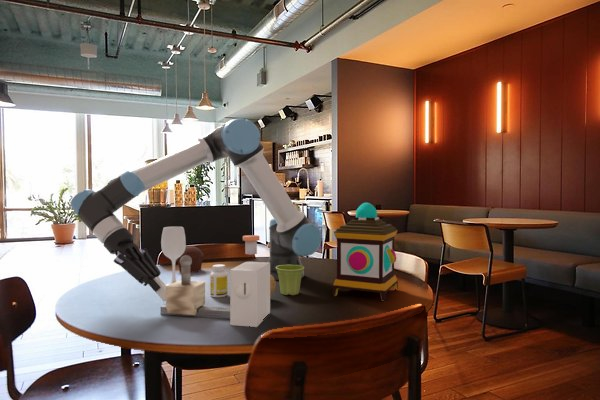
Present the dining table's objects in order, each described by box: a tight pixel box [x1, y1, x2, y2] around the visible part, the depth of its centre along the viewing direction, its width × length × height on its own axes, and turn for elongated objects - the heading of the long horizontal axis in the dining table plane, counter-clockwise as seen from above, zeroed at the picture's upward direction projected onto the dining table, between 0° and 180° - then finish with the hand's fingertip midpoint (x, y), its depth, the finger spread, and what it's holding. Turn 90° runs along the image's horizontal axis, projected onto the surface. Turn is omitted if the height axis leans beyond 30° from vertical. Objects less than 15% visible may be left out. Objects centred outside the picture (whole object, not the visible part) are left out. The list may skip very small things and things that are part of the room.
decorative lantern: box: [332, 202, 399, 301], centre depth 136 cm, size 20×20×30 cm
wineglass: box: [160, 226, 187, 286], centre depth 142 cm, size 9×9×21 cm
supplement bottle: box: [209, 263, 228, 298], centre depth 132 cm, size 5×5×10 cm
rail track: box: [159, 303, 230, 320], centre depth 112 cm, size 22×3×2 cm, turn 78°
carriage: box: [165, 255, 206, 315], centre depth 112 cm, size 8×7×15 cm
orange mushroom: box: [242, 234, 260, 255], centre depth 108 cm, size 4×4×5 cm
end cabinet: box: [229, 261, 271, 328], centre depth 108 cm, size 7×13×14 cm, turn 168°
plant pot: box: [276, 265, 305, 296], centre depth 135 cm, size 9×9×9 cm
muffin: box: [177, 245, 205, 274], centre depth 172 cm, size 12×11×10 cm
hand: (168, 297), depth 113 cm, fingers closed
